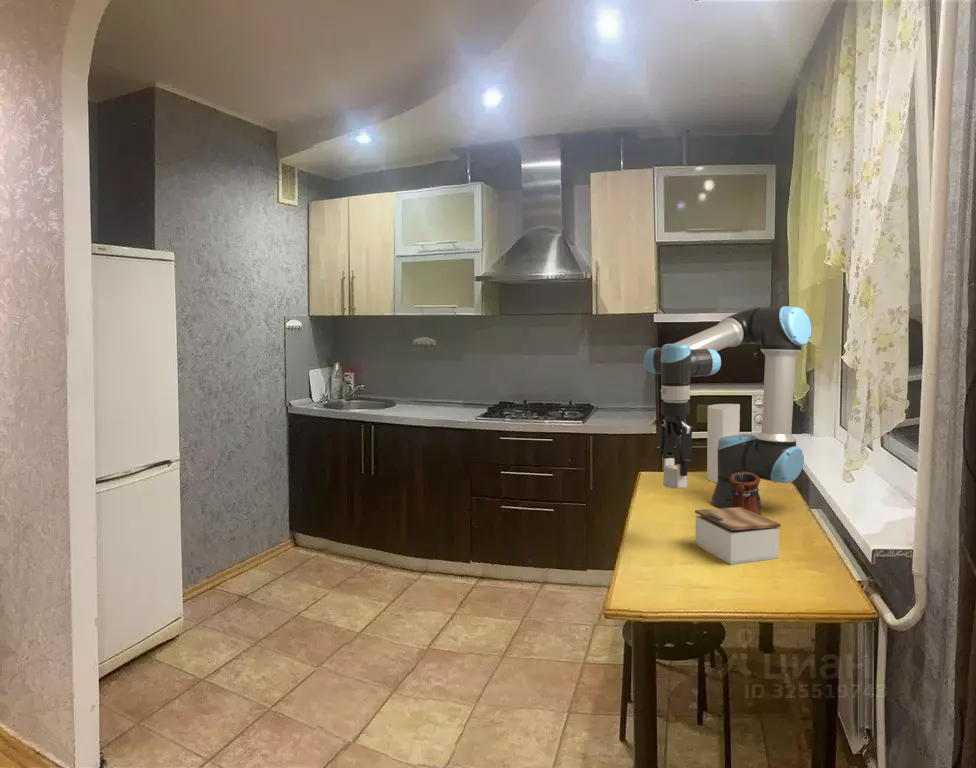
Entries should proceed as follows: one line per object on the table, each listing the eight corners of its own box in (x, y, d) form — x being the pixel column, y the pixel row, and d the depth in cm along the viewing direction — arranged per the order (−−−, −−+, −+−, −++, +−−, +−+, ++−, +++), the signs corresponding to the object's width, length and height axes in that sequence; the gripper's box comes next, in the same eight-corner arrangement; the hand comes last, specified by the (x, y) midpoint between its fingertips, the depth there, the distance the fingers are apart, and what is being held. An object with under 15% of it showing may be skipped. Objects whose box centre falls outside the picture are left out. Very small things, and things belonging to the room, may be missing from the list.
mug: (760, 537, 189) (761, 485, 188) (717, 532, 195) (718, 481, 193) (765, 520, 205) (766, 471, 204) (726, 515, 211) (726, 468, 209)
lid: (740, 510, 188) (740, 505, 188) (780, 527, 172) (780, 521, 172) (694, 512, 184) (695, 507, 184) (731, 530, 168) (731, 524, 168)
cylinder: (699, 481, 255) (700, 407, 252) (717, 472, 268) (717, 402, 266) (745, 487, 244) (746, 411, 241) (761, 478, 257) (762, 405, 254)
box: (739, 539, 188) (740, 511, 188) (778, 558, 173) (778, 528, 172) (695, 544, 185) (695, 516, 184) (730, 564, 169) (731, 533, 169)
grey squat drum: (678, 482, 188) (679, 464, 188) (690, 487, 183) (690, 469, 182) (659, 483, 187) (659, 465, 186) (670, 489, 181) (670, 470, 181)
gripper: (646, 397, 191) (646, 477, 193) (681, 405, 172) (681, 494, 175) (670, 396, 193) (670, 475, 195) (707, 404, 174) (706, 491, 176)
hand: (675, 484), depth 185 cm, fingers closed on grey squat drum, 6 cm apart
